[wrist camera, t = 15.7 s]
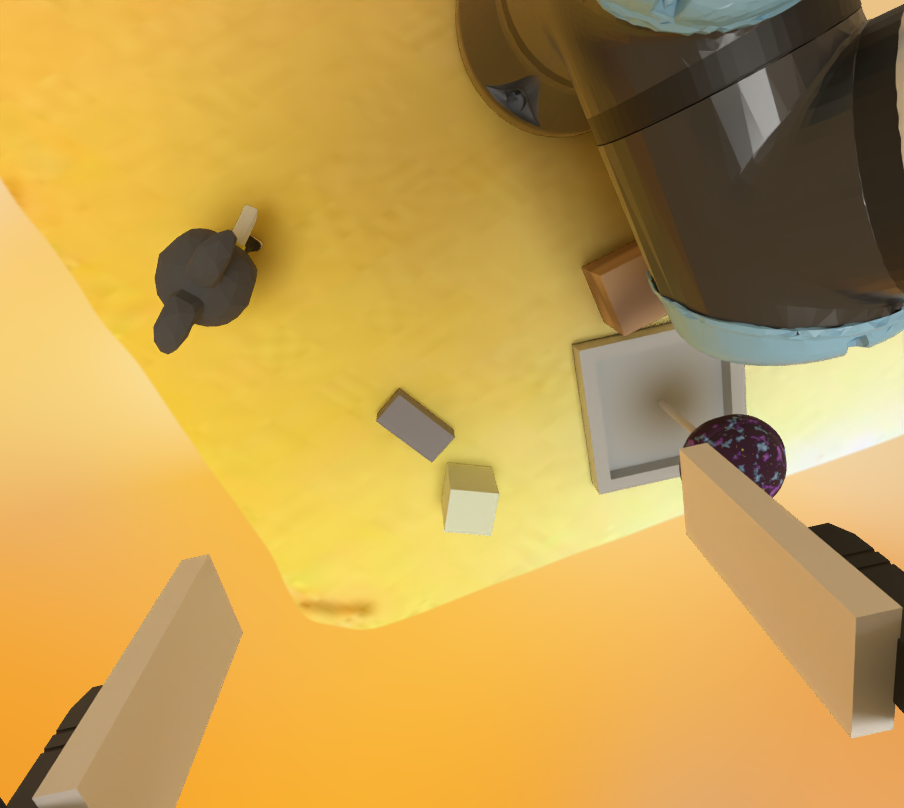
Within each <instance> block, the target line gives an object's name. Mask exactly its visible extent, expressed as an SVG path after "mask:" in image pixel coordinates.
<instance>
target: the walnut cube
mask: <svg viewBox="0 0 904 808" xmlns="http://www.w3.org/2000/svg"><path fill="white" fill-rule="evenodd" d="M647 269H648V268H647V266H646V263H645V261H644V259H643V256H642V254H641V251H640V249H639V246H638V244H637V242H636V240H635V241H633V242H631V243H629V244H627V245H625V246H623V247H621V248H619V249H617V250H615V251H613V252H611V253H609V254H607V255H606V256H604V257H602V258H600V259H598V260H596V261H594V262H592V263H590V264H588V265H586V266H584V267H582V270H583V273H584V275H585V277H586V280H587V282H588V285H589V287H590V289H591V292H592V294H593V297H594V299H595V301H596V304H597V306H598V309H599V311H600V314H601V316H602V318H603V321H604V323H606V324H607V325H609V326H610V327H612V328H613V329H615V330H616V331H618V332H619V333H621V334H622V335H624V336H626V335H628V334H630V333H632V332H634V331H636V330H638V329H640V328H642V327H644V326H646V325H648V324H650V323H652V322H654V321H656V320H658V319H660V318H662V317H664V316H666V315H668V314H667V312H666V309H665V307H664V305H663V303H662V301H660V299H659V298H658V297H657V295H656V294H655V293H654V292H653V291H652V289H651V287H650V284H649V281H648V278H647V274H646V272H647Z"/></svg>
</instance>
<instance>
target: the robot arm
mask: <svg viewBox="0 0 904 808" xmlns="http://www.w3.org/2000/svg"><path fill="white" fill-rule="evenodd" d="M456 32H457V39H458V45H459V49H460V53H461V57H462V60H463V63H464V66H465V68H466V71H467V73H468V75H469V77H470V79H471V81H472V83H473V85H474V87H475V88H476V90H477V91H478V93H479V94H480V96H481V97H482V98H483V100H484V101H485V102H486V103H487V104H488V105H489V106H490V108H491V109H492V110H493V111H495V112H496V113H497V114H498V115H499V116H500V117H502V118H503V119H504V120H506V121H507V122H509V123H510V124H512V125H514V126H516V127H518V128H520V129H522V130H524V131H527V132H530V133H533V134H537V135H541V136H548V137H568V136H575V135H580V134H583V133H587V132H590V131H592V133H593V135H594V138H595V140H596V142H597V147H598V150H599V152H600V154H601V157H602V159H603V162H604V164H605V166H606V169H607V171H608V174H609V176H610V179H611V181H612V183H613V186H614V188H615V191H616V193H617V196H618V198H619V200H620V203H621V205H622V208H623V210H624V213H625V215H626V217H627V220H628V222H629V225H630V227H631V229H632V232H633V234H634V237H635V239H636V242H637V244H638V246H639V249H640V251H641V254H642V256H643V259H644V261H645V263H646V266H647V268H648V269H647V272H646V274H647V278H648V281H649V284H650V287H651V289H652V291H653V292H654V293H655V294H656V295H657V297H658V298H659V299H660V301H662V303H663V305H664V307H665V309H666V312H667V314H668V316H669V318H670V320H671V322H672V324H673V326H674V328H675V330H676V332H677V333H678V334H679V335H680V337H682V338H683V339H684V340H685V341H686V342H687V343H688V344H689V345H690V346H691V347H693V348H695V349H696V350H697V351H699V352H701V353H703V354H706V355H708V356H710V357H713V358H716V359H719V360H722V361H727V362H731V363H737V364H744V365H756V366H786V365H797V364H806V363H812V362H818V361H824V360H828V359H832V358H837V357H841V356H844V355H845V354H846V353H847V350H848V347H854V346H858V347H868V348H869V347H872V346H874V345H877V344H879V343H881V342H883V341H885V340H887V339H889V338H891V337H893V336H895V335H896V334H898V333H900V332H901V331H903V330H904V4H903V5H901V6H899V7H897V8H894V9H892V10H890V11H888V12H886V13H884V14H882V15H880V16H878V17H875V18H874V19H870V20H867V19H866V17H865V15H864V13H863V10H862V7H861V1H860V0H456ZM679 453H680V465H681V477H682V489H683V501H684V513H685V525H686V534H687V536H688V537H689V538H690V539H691V540H692V542H693V543H694V544H695V545H696V546H697V548H698V549H699V550H700V552H701V553H702V554H703V555H704V557H705V558H706V559H707V560H708V562H709V563H710V564H711V565H712V566H713V568H714V569H715V570H716V571H717V573H718V574H719V575H720V576H721V578H722V579H723V580H724V581H725V583H726V584H727V585H728V586H729V588H730V589H731V590H732V591H733V592H734V594H735V595H736V596H737V597H738V599H739V600H740V601H741V602H742V604H743V605H744V606H745V607H746V609H747V610H748V611H749V612H750V614H751V615H752V616H753V617H754V619H755V620H756V621H757V622H758V623H759V625H760V626H761V627H762V628H763V630H764V631H765V632H766V633H767V635H768V636H769V637H770V638H771V640H772V641H773V642H774V643H775V645H776V646H777V647H778V648H779V650H780V651H781V652H782V653H783V654H784V656H785V657H786V658H787V659H788V660H789V662H790V663H791V664H792V665H793V667H794V668H795V669H796V671H797V672H798V673H799V674H800V675H801V677H802V678H803V679H804V680H805V682H806V683H807V684H808V685H809V687H810V688H811V689H812V690H813V691H814V693H815V694H816V695H817V697H818V698H819V699H820V700H821V701H822V703H823V704H824V705H825V706H826V708H827V709H828V710H829V711H830V713H831V714H832V715H833V716H834V718H835V719H836V720H837V721H838V723H839V724H840V725H841V726H842V728H843V729H844V730H845V731H846V732H847V734H848V735H849V736H850V737H851V738H855V737H859V736H864V735H869V734H874V733H878V732H883V731H887V730H892V729H893V727H894V713H895V704H896V705H897V706H898V707H899V709H900V710H901V711H902V712H903V713H904V572H903V571H902V570H901V569H899V568H898V567H897V566H896V565H894V564H892V565H891V563H890V561H889V560H888V559H886V558H885V557H884V556H882V555H881V554H880V553H879V552H875V551H874V549H873V548H872V547H871V546H869V545H868V544H867V543H866V542H864V541H863V540H862V539H860V538H859V537H858V536H856V535H855V534H853V533H851V532H849V531H846V530H844V529H841V528H839V527H837V526H834V525H832V524H829V523H825V524H821V525H816V526H812V527H806V526H805V525H804V524H803V523H802V522H800V521H799V520H798V519H797V518H796V517H794V516H793V515H792V514H791V513H790V512H789V511H787V510H786V509H785V508H784V507H783V506H781V505H780V504H779V503H778V502H777V501H775V500H774V499H773V498H772V497H771V496H770V495H768V494H767V493H766V492H765V491H764V490H762V489H761V488H760V487H759V486H758V485H756V484H755V483H754V482H753V481H752V480H751V479H749V478H748V477H747V476H746V475H745V474H743V473H742V472H741V471H740V470H739V469H737V468H736V467H735V466H734V465H733V464H732V463H730V462H729V461H728V460H727V459H726V458H724V457H723V456H722V455H721V454H720V453H718V452H717V451H716V450H715V449H714V448H713V447H711V446H710V445H709V444H708V443H704V444H699V445H695V446H690V447H686V448H681V449H679ZM242 634H243V632H242V629H241V627H240V625H239V622H238V620H237V618H236V616H235V613H234V611H233V609H232V606H231V604H230V602H229V599H228V597H227V595H226V592H225V590H224V588H223V585H222V583H221V581H220V579H219V576H218V574H217V572H216V569H215V567H214V565H213V562H212V560H211V558H210V556H209V555H203V556H199V557H195V558H190V559H186V560H182V561H181V563H180V564H179V566H178V567H177V569H176V570H175V572H174V574H173V575H172V577H171V578H170V580H169V582H168V583H167V585H166V586H165V588H164V589H163V591H162V593H161V594H160V596H159V597H158V599H157V601H156V602H155V604H154V605H153V607H152V609H151V610H150V612H149V613H148V615H147V616H146V618H145V620H144V621H143V623H142V624H141V626H140V628H139V629H138V631H137V632H136V634H135V636H134V637H133V639H132V640H131V642H130V643H129V645H128V647H127V648H126V650H125V651H124V653H123V655H122V656H121V658H120V660H119V661H118V663H117V664H116V666H115V667H114V669H113V670H112V672H111V674H110V675H109V677H108V678H107V680H106V682H105V683H104V685H101V686H97V687H93V688H91V689H90V690H89V691H88V693H86V694H85V695H84V696H83V697H82V698H81V699H80V700H79V701H78V702H77V703H76V704H75V705H74V706H73V707H72V708H71V709H70V711H69V712H68V714H67V715H66V717H65V718H64V720H63V721H62V723H61V724H60V726H59V728H58V729H57V730H56V731H57V733H56V735H53V736H52V738H51V740H50V741H49V742H48V744H47V745H46V747H45V748H44V750H45V751H44V753H42V754H40V756H39V758H38V759H37V761H36V762H35V764H34V765H33V767H32V768H31V770H30V771H29V773H28V774H27V776H26V777H25V779H24V780H23V782H22V783H21V785H20V786H19V788H18V789H17V791H16V792H15V794H14V795H13V797H12V798H11V800H10V801H9V803H8V804H7V806H6V805H5V803H4V802H3V801H2V799H1V798H0V808H175V807H176V804H177V802H178V799H179V797H180V794H181V791H182V789H183V786H184V784H185V781H186V778H187V776H188V773H189V771H190V768H191V765H192V763H193V760H194V758H195V755H196V753H197V750H198V747H199V745H200V742H201V740H202V737H203V734H204V731H205V729H206V727H207V724H208V721H209V719H210V716H211V714H212V711H213V709H214V706H215V703H216V701H217V698H218V696H219V693H220V690H221V688H222V685H223V683H224V680H225V677H226V675H227V672H228V670H229V667H230V664H231V662H232V659H233V657H234V654H235V651H236V649H237V646H238V644H239V641H240V639H241V636H242Z"/></svg>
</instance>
